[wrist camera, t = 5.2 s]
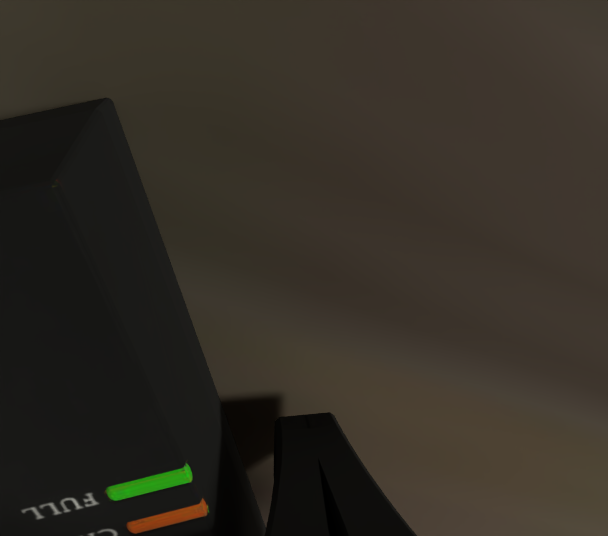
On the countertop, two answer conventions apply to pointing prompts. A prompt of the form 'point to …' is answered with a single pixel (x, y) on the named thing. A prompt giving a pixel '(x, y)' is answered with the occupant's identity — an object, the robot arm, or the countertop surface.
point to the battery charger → (101, 350)
